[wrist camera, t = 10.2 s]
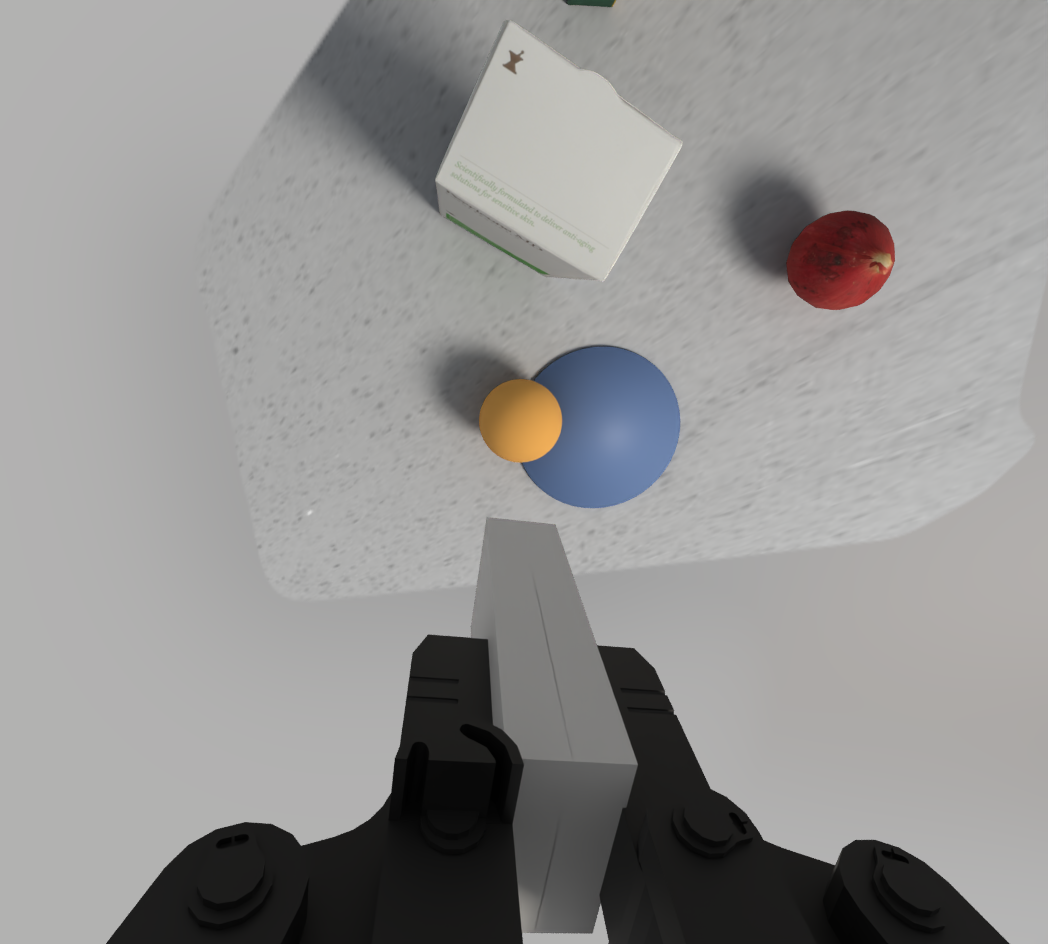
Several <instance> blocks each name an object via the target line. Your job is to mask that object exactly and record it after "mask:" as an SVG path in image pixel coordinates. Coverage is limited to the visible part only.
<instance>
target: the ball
mask: <svg viewBox="0 0 1048 944" xmlns="http://www.w3.org/2000/svg"><path fill="white" fill-rule="evenodd" d="M479 426H480V431H481V434H482V437H483V439H484V441H485V443H486V444H487V446H488V447H489V448H490V449H491V450H492V451H493V452H494V453H495V454H496V455H498V456H499V457H501V458H503V459H505V460H508V461H512V462H530V461H533V460H536V459H538V458H540V457H542V456H544V455H545V454H546V453H547V452H549V451H550V450H551V449H552V447H553V446H554V445H555V443H556V442H557V440H558V438H559V435H560V433H561V428H562V414H561V409H560V406H559V404H558V402H557V400H556V398H555V397H554V395H553V394H552V393H551V392H550V391H549V390H548V389H547V388H545V387H544V386H543V385H541V384H539V383H537V382H534V381H531V380H526V379H516V380H510V381H507V382H504V383H502V384H500V385H499V386H497V387H496V388H494V389H493V390H492V391H491V392H490V393H489V395H488V396H487V397H486V399H485V400H484V402H483V404H482V407H481V410H480V416H479Z"/></svg>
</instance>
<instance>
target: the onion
mask: <svg viewBox="0 0 1048 944" xmlns="http://www.w3.org/2000/svg"><path fill="white" fill-rule="evenodd" d="M894 261H895V251H894V242H893V240H892V237H891V234H890V232H889V229H888V228H887V227H886V226H885V225H884V224H883V223H882V222H880V221H879V220H878V219H877V218H876V217H874V216H872V215H870V214H866V213H861V212H856V211H841V212H835V213H830V214H827V215H825V216H822V217H821V218H819V219H818V220H816V221H814V222H813V223H811V224H809V225H808V226H806V227H805V228H804V230H803V231H802V232H801V233H800V235H799V236H798V237H797V238H796V240H795V241H794V242H793V244H792V246H791V249H790V252H789V256H788V259H787V262H786V264H787V273H788V282H789V283H790V285H791V286H792V288H793V290H794V291H795V293H796V294H797V296H799V297H800V298H802V299H803V300H805V301H806V302H808V303H809V304H811V305H812V306H814V307H816V308H822V309H830V310H840V309H845V308H849V307H854V306H858V305H860V304H862V303H864V302H865V301H866V300H868V299H869V298H870V297H872V296H873V295H874V294H875V293H877V292H878V291H879V290H880V289H881V287H882V286H883V284H884V283H885V282H886V280H887V279H888V277H889V276H890V273H891V270H892V267H893V264H894Z"/></svg>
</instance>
